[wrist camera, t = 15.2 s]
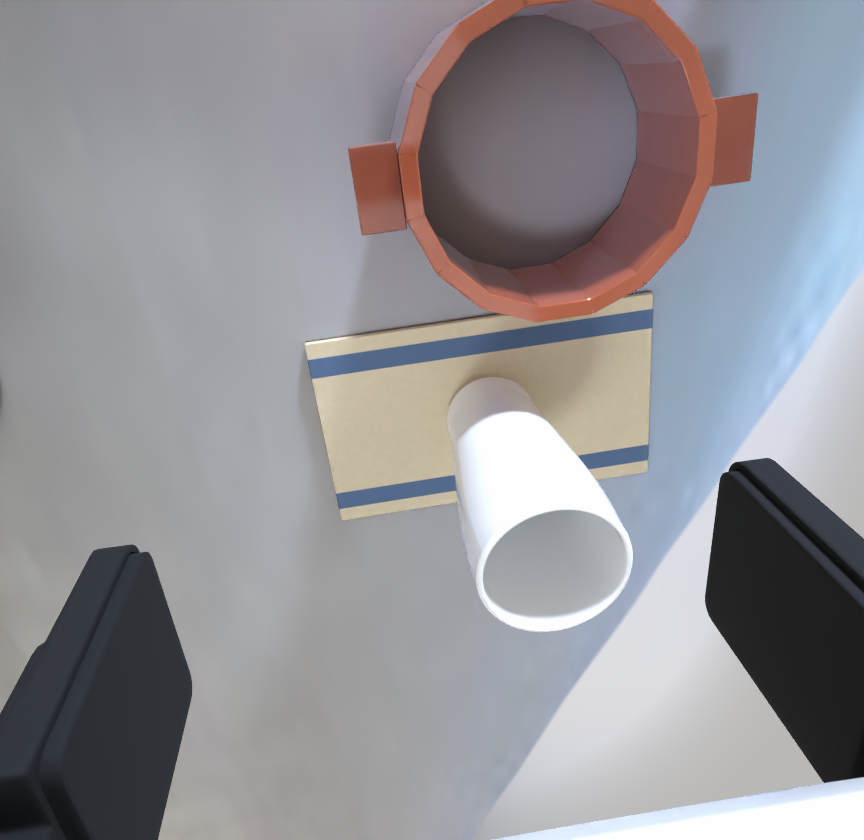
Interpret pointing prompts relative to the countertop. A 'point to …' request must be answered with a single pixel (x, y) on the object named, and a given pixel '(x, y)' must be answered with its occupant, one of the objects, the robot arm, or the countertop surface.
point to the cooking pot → (646, 190)
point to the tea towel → (458, 366)
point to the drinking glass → (531, 513)
